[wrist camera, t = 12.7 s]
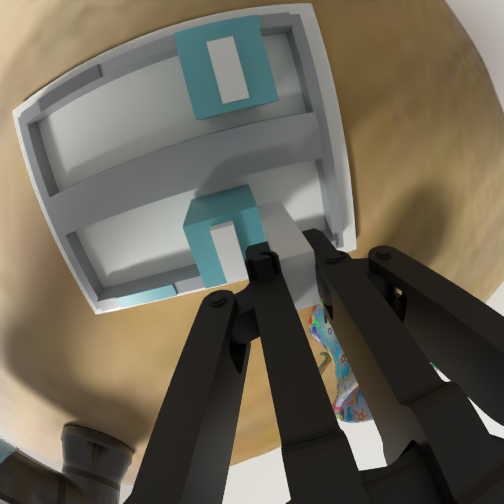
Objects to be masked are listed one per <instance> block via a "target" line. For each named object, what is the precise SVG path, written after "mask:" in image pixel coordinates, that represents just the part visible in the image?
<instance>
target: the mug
mask: <svg viewBox="0 0 504 504" xmlns="http://www.w3.org/2000/svg"><path fill="white" fill-rule="evenodd" d="M309 329H310V333H311V335H312V336H313V338H314V339H315V340H316V341H317V342H319V343H320V344H322V345H323V346H324V347H325V348H326V350H327V351H328V353H329V354H328V353H326V352H321V354H320V355H321V356H322V357H326V358H325V360H324V361H323V363H322V364H321V365H320V367H319V368H318V369H319V372H320V374H321V375H322V373H323V372H324V370H325V369H326V367H327V366H328V365H329V363H330V362H331V360H332V361H333V364H334V368H335V372H336V379H337V395H336V399H335V401H334V403H333V404H332V408H333V411H335V414H336V416H337V417H338V418H339V419H340V420H341V421H344V422H349V423H360V422H366V421H369V420H373V417H372V415H371V412H370V410H369V408H368V405H367V403H366V401H365V399H364V396H363V394H362V392H361V390H360V387H359V385H358V383H357V381H356V378H355V376H354V374H353V372H352V370H351V367H350V365H349V363H348V361H347V359H346V357H345V355H344V352H343V350H342V348H341V346H340V344H339V342H338V340H337V338H336V335H335V333H334V331H333V329H332V327H331V325H330V323H329V321H328V319H327V323H326V324H325V321H324V311H323V301H322V299H320V304H318V305H315V307H314V309H313V310H312V313H311V316H310V320H309ZM430 363H431V362H430ZM431 364H432V363H431ZM432 366H433V367H434V369H435V370H436V372H437V370H438V369H437V368H436V367H435V366H434V365H433V364H432Z"/></svg>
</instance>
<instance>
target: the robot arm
mask: <svg viewBox="0 0 504 504" xmlns="http://www.w3.org/2000/svg"><path fill="white" fill-rule="evenodd" d="M258 210H259V214H260V219H261V223H262V227H263V231H264V236H265V240H266V241H265V242H261V243H258V244H254V245H250V246H248V247H247V249H246V251H245V255H246V260H245V267H246V271H247V274H248V278H249V281H250V282H249V284H248V286H247V287H246V288H245V289H243V290H242V291H240V292H238V293H236V294H233V292H232V291H229V290H218V291H214V292H212V293H210V294H209V295H207V296H206V297H205V298H204V299H203V301H202V303H201V305H200V308H199V310H198V313H197V315H196V318H195V320H194V323H193V325H192V328H191V330H190V333H189V335H188V338H187V340H186V343H185V346H184V348H183V351H182V353H181V356H180V359H179V361H178V364H177V366H176V369H175V372H174V374H173V377H172V379H171V382H170V385H169V387H168V390H167V393H166V396H165V398H164V401H163V404H162V406H161V409H160V412H159V415H158V417H157V420H156V423H155V426H154V428H153V431H152V434H151V437H150V440H149V443H148V445H147V448H146V451H145V454H144V457H143V460H142V463H141V466H140V469H139V472H138V475H137V478H136V481H135V484H134V487H133V490H132V493H131V495H130V496H129V497H128V498H127V499H126V501H125V502H124V503H123V504H222V500H223V495H224V490H225V485H226V480H227V475H228V470H229V464H230V459H231V454H232V449H233V443H234V438H235V433H236V427H237V422H238V416H239V411H240V405H241V399H242V394H243V388H244V383H245V377H246V371H247V365H248V360H249V354H250V348H251V341H252V340H254V339H256V338H258V337H260V338H261V343H262V348H263V353H264V358H265V363H266V368H267V373H268V378H269V383H270V388H271V393H272V398H273V403H274V408H275V413H276V418H277V423H278V428H279V433H280V438H281V444H282V447H281V450H282V457H283V463H284V468H285V472H286V478H287V482H288V487H289V492H290V496H291V500H290V501H289V502H287V503H286V504H504V439H503V438H500V437H497V436H494V435H491V434H489V432H488V430H487V429H486V427H485V425H484V423H483V422H482V420H481V418H480V417H479V415H478V413H477V412H476V410H475V408H474V407H473V405H472V403H471V402H470V400H469V399H468V397H469V398H470V399H471V400H472V401H473V402H474V403H475V404H476V405H477V406H478V407H479V408H480V409H481V410H482V411H483V412H484V413H486V414H487V415H488V416H489V417H490V418H492V419H493V420H494V421H496V422H497V423H499V424H500V425H503V426H504V317H503V316H502V315H501V314H499V313H498V312H496V311H495V310H493V309H492V308H491V307H489V306H488V305H486V304H485V303H483V302H482V301H480V300H479V299H477V298H476V297H474V296H473V295H471V294H470V293H468V292H467V291H465V290H464V289H462V288H460V287H459V286H457V285H456V284H454V283H453V282H451V281H449V280H448V279H446V278H445V277H443V276H441V275H440V274H438V273H436V272H435V271H433V270H431V269H430V268H428V267H426V266H425V265H423V264H421V263H420V262H418V261H416V260H414V259H413V258H411V257H409V256H408V255H406V254H404V253H402V252H401V251H399V250H397V249H395V248H393V247H390V246H377V247H374V248H372V249H371V250H370V251H369V253H368V258H362V259H352V258H351V257H350V256H349V254H347V253H346V252H344V251H341V250H337V249H336V248H335V247H334V246H333V244H332V243H331V242H330V241H329V240H328V238H327V237H325V235H324V233H323V232H322V231H320V230H318V229H315V228H313V229H309V230H305V231H300V229H299V228H298V226H297V225H296V223H295V222H294V220H293V219H292V217H291V216H290V215H289V213H288V212H287V210H286V209H285V207H284V206H283V204H282V203H281V202H280V201H277V202H273V203H269V204H265V205H261V206H258ZM397 288H398V289H400V290H401V291H402V295H400V294H399V293H397ZM319 295H320V297H321V299H322V301H323V311H324V321H325V324H326V323H327V319H328V321H329V323H330V325H331V327H332V329H333V331H334V333H335V335H336V338H337V340H338V342H339V344H340V346H341V348H342V350H343V352H344V355H345V357H346V359H347V361H348V363H349V365H350V367H351V370H352V372H353V374H354V376H355V378H356V381H357V383H358V385H359V387H360V390H361V392H362V394H363V396H364V399H365V401H366V403H367V405H368V408H369V410H370V412H371V415H372V417H373V419H374V422H375V424H376V426H377V429H378V431H379V433H380V436H381V438H382V442H383V452H384V457H385V459H386V463H387V465H388V466H386V467H381V468H375V469H369V470H362V471H359V470H358V468H357V465H356V462H355V459H354V456H353V453H352V450H351V447H350V445H349V442H348V439H347V437H346V435H345V433H344V431H343V430H341V429H340V427H339V425H338V422H337V419H336V416H335V413H334V411H333V408H332V405H331V402H330V399H329V397H328V394H327V391H326V388H325V385H324V383H323V380H322V377H321V374H320V372H319V369H318V366H317V364H316V361H315V358H314V355H313V353H312V350H311V347H310V345H309V342H308V339H307V337H306V334H305V331H304V329H303V326H302V323H301V321H300V318H299V315H298V313H297V310H301V309H305V308H308V307H312V306H315V305H318V304H320V297H319ZM430 362H431V363H432V364H433V365H434V366H435V367H436V368H437V369H439V370H440V371H441V372H442V373H443V374H444V375H445V376H446V377H447V378H448V379H449V380H451V381H449V382H445V381H443V380H442V379H441V378H440V377H439V375H438V373H437V372H436V370H435V369H434V367H433V366H432V364H431V363H430ZM467 396H468V397H467ZM61 441H62V448H63V469H62V473H60V472H58V471H56V470H54V469H52V468H50V467H48V466H46V465H44V464H42V463H41V462H39V461H37V460H35V459H33V458H32V457H30V456H29V455H27V454H25V453H24V452H22V451H20V450H19V448H17V447H14V446H12V445H10V444H9V443H7V442H5V441H4V440H2V439H0V504H119V496H120V484H121V481H122V479H123V477H124V475H125V474H126V471H127V469H128V467H129V465H130V464H131V462H132V455H133V452H132V450H131V449H130V448H129V447H127V446H126V445H125V444H123V443H121V442H120V441H118V440H116V439H114V438H112V437H109V436H107V435H105V434H102V433H100V432H97V431H94V430H91V429H87V428H84V427H79V426H72V425H69V426H65V427H64V428H63V431H62V434H61Z"/></svg>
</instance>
